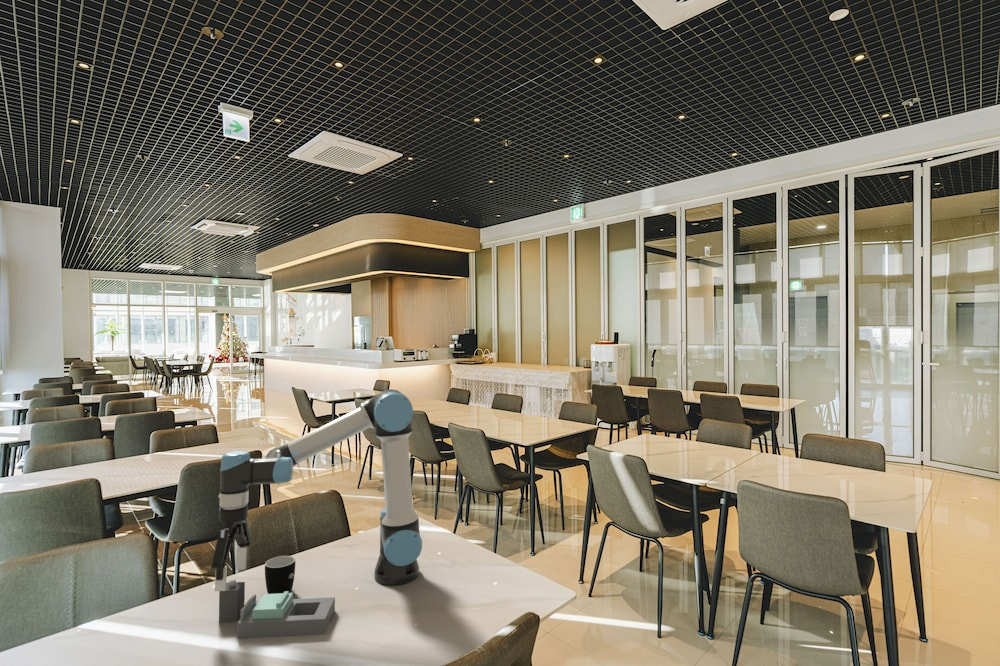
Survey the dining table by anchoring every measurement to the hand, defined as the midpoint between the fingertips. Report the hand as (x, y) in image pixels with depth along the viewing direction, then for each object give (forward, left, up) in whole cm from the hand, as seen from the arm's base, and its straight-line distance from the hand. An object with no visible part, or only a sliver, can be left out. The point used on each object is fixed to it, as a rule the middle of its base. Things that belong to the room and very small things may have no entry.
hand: (231, 579), depth 146 cm
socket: (-18, +5, -11) cm, 22 cm away
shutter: (-14, +5, -7) cm, 16 cm away
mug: (-9, -15, -11) cm, 21 cm away
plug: (0, 0, -11) cm, 11 cm away
